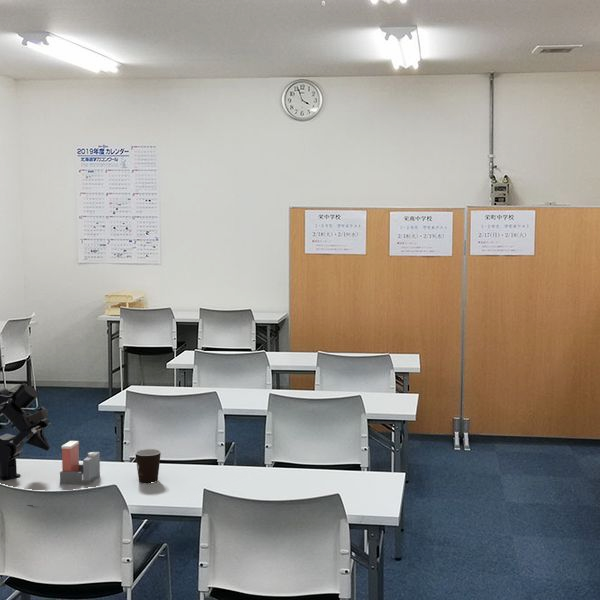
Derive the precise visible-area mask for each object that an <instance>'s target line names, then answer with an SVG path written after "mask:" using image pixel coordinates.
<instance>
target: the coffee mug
mask: <svg viewBox="0 0 600 600" xmlns="http://www.w3.org/2000/svg"><path fill="white" fill-rule="evenodd" d="M161 453H162V452H161V450H159V449H156V448H143V449H140V450H137V451H135V454H134V455H135V461H136V469H137V476H138V482H139V483H140V482H141V483H140V484H144V483H150V484H152V483H151V482H155V481H157V480H158V481H159V473H160V472H159V471H160V463H161ZM158 481H157V482H158ZM155 483H156V482H155Z"/></svg>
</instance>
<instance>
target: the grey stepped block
mask: <svg viewBox="0 0 600 600" xmlns="http://www.w3.org/2000/svg"><path fill="white" fill-rule="evenodd" d="M100 460H101V459H100V451H91V452H87V456H86V457H85V458H84V459H83V460H82V463H79V472H71V471H62V470H61V471H59V484H61V485H84V486H85V485H86V486H87V485H88V486H89V485H91V484H92V483H93V482H94V481H95V480H97V479H98V478H99V477H100V476H101V469H100V468H101V461H100Z"/></svg>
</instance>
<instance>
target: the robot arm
mask: <svg viewBox="0 0 600 600" xmlns="http://www.w3.org/2000/svg"><path fill="white" fill-rule="evenodd" d="M38 397H39V393H38V391H37V389H35V388H33V387H31V386H29V385H28V384H26V383H22V384H21V385H20V386H19V387H18V388H17V390H16V391H14V390H8V389H7V388H6V387H3V386H2V387H0V406H1V405H3V406H2V407H0V417H1V416H4V417H5V418H6V419H7V420H8V422H10V423H11V426H10V427H11V428H12V429H16V430H17V431H18V433H17V434H16V435H13V434H11V433H5V434H3V435H0V480H2V481H8V480H10V479H14V478H18V477H21V476H22V475H21V474H20V473H17V468H18V467H17V458H19V456H20V454H21V453H22V452H23V450H24V447H25V444H26V445H30V446H34V447H36V448H39V449H42V450H45V451H49V450H50V449H51V447H50V444H49V443H48V441H47V438H46V437H45V430H46V429H47V427H48V426H49V425H51V423H52V422H51V421H50V420H49V419H48V418H49V410H48V409H47V408H46V407H44V406H41V407H39V408H37V410H36V412H35V413H31V412H30V411H28V412H26V411H25V410H24V409H27V408H29V406H30V405H31V404H32V403H34V401H35V400H36V399H37V398H38ZM9 401H10V402H9ZM25 439H26V441H25V442H24V440H25Z"/></svg>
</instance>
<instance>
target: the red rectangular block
mask: <svg viewBox="0 0 600 600" xmlns="http://www.w3.org/2000/svg"><path fill="white" fill-rule="evenodd" d="M79 444H80V441H79V440H69V441H68V442H66V443H64V444H62V445H61V458H62V459H61V460H62V461H61V468H62V470H61V471H71V472H79V464H80V453H79V451H80V447H79Z"/></svg>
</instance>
